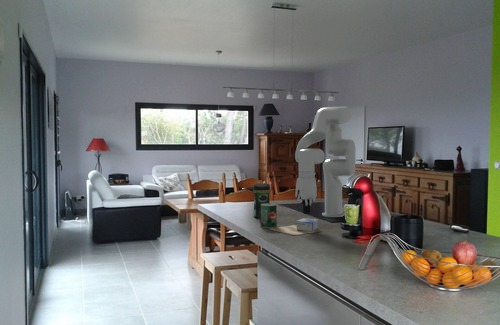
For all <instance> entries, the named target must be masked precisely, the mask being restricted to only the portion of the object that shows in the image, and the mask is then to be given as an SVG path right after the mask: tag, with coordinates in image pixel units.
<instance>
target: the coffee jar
mask: <svg viewBox="0 0 500 325" xmlns="http://www.w3.org/2000/svg"><path fill="white" fill-rule="evenodd" d="M252 193H253V196H254V197H253V199H254V200H253V201H254V202H253V217H254V218H260V219H261V204H264V203H270V194H271V186H270V184H269V183H264V182H263V183H262V182H261V183H254V184H253V188H252Z"/></svg>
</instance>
